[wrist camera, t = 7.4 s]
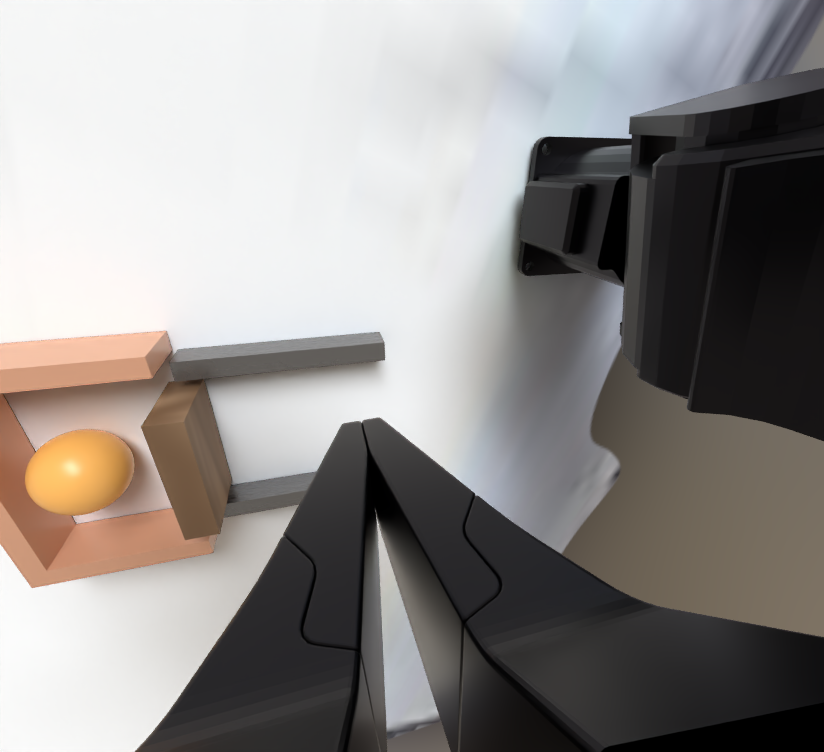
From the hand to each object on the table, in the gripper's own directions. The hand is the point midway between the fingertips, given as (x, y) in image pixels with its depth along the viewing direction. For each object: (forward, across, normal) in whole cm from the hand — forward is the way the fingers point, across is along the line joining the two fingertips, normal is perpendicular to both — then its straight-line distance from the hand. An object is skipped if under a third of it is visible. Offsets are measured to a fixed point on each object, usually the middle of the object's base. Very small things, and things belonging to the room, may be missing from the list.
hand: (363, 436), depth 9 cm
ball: (+10, +13, +7) cm, 18 cm away
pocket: (+12, +12, +7) cm, 19 cm away
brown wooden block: (+13, +8, +7) cm, 17 cm away
